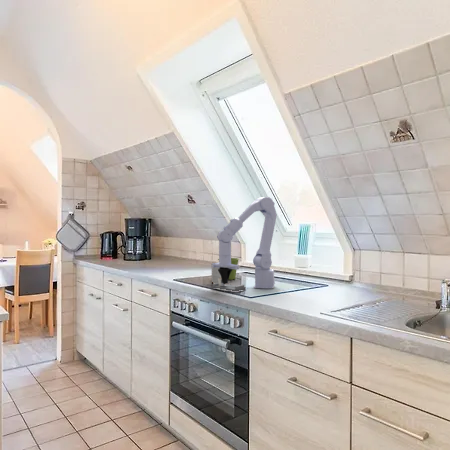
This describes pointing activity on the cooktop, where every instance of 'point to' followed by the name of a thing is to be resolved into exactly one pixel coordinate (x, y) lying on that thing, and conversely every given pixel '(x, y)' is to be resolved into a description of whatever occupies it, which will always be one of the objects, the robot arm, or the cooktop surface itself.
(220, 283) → the fader knob
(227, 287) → the console strip
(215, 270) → the small box
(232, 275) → the plant pot
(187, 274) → the cooktop surface
